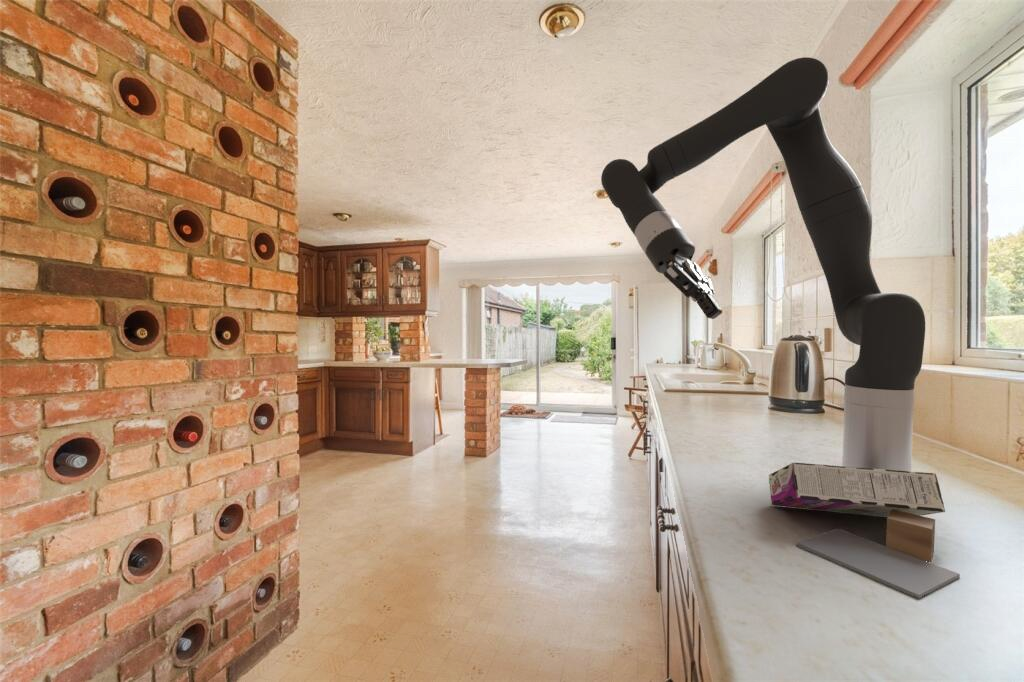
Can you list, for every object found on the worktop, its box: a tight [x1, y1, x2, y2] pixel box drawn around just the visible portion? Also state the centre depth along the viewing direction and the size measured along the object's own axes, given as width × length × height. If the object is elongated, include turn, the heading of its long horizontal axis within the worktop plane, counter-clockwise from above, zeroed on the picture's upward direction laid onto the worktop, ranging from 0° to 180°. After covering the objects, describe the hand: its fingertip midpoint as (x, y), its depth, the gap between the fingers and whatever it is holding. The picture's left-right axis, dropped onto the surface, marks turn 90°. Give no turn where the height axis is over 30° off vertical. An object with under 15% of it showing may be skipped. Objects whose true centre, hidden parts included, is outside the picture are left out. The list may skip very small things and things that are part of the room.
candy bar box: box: [768, 462, 946, 518], centre depth 62 cm, size 11×5×16 cm
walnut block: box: [885, 510, 936, 563], centre depth 54 cm, size 4×4×4 cm
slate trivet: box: [795, 528, 960, 599], centre depth 52 cm, size 9×12×1 cm
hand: (715, 315), depth 73 cm, fingers closed
